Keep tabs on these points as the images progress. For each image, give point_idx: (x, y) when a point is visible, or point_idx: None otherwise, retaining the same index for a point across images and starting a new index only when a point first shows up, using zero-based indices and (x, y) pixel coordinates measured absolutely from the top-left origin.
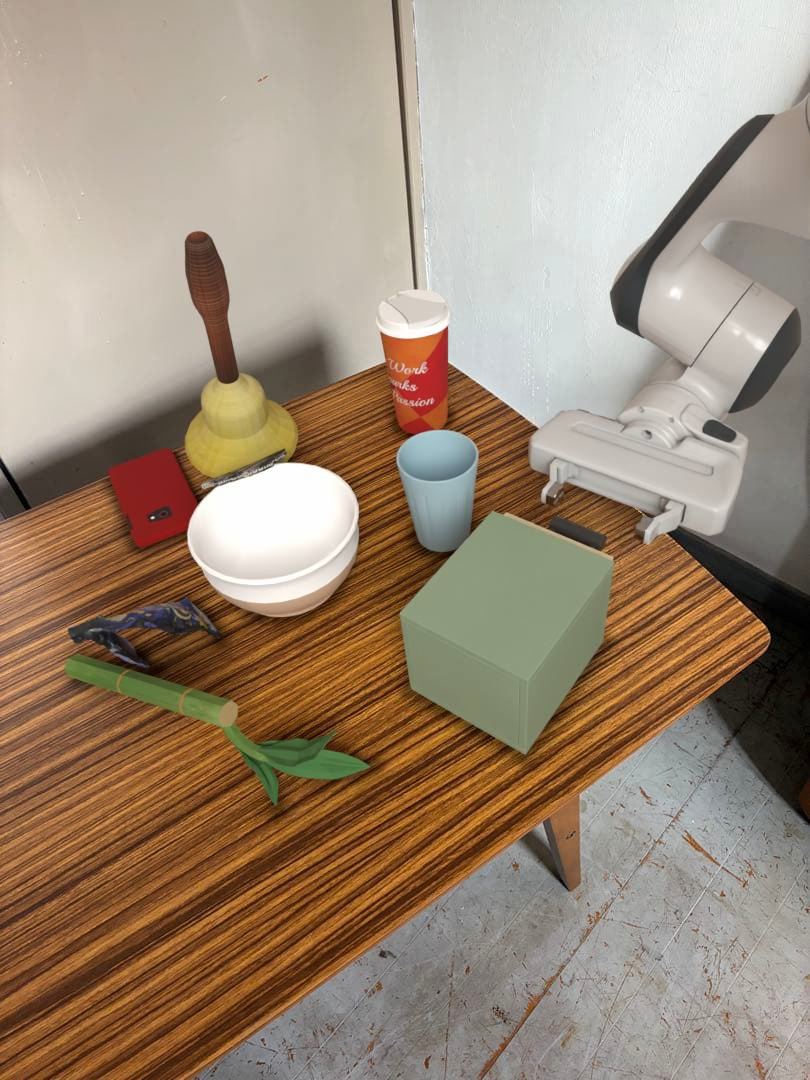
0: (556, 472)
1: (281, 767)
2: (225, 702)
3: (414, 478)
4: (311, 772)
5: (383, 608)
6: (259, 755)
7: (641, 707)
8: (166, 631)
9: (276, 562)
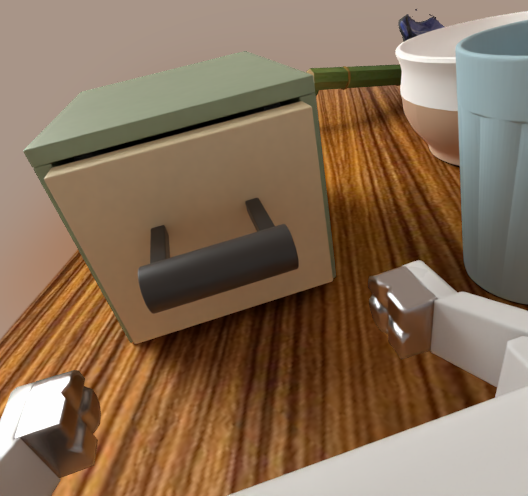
0: (490, 317)
1: None
2: (313, 70)
3: (496, 27)
4: None
5: (392, 189)
6: None
7: (41, 322)
8: None
9: None
